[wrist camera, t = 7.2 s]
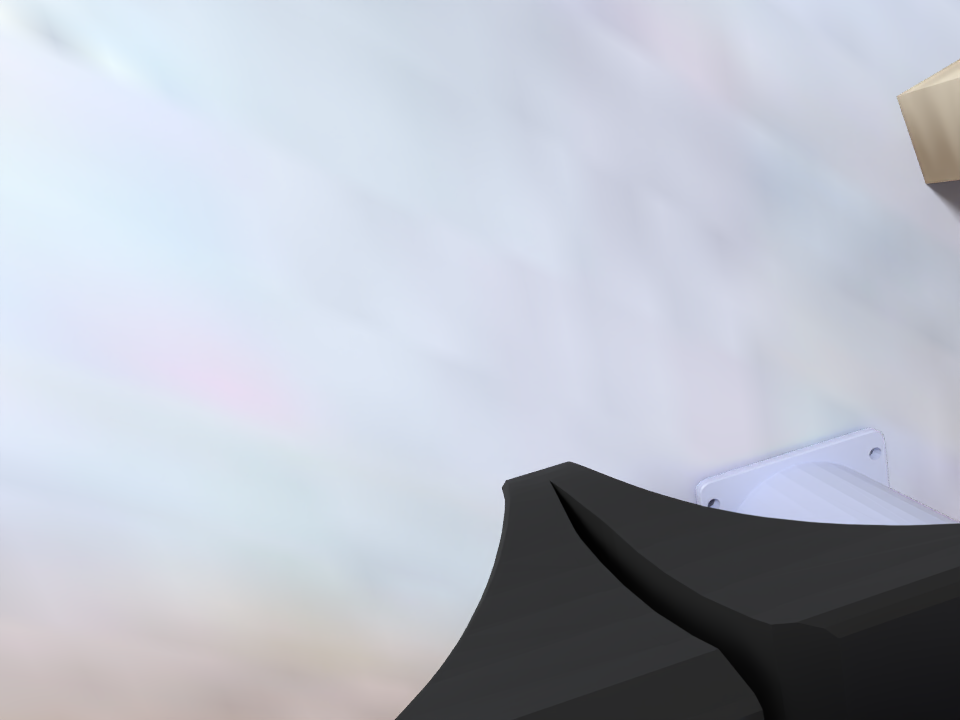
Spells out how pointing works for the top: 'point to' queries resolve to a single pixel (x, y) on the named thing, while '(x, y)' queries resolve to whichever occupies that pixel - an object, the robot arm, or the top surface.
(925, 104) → the maple block
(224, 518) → the top surface
